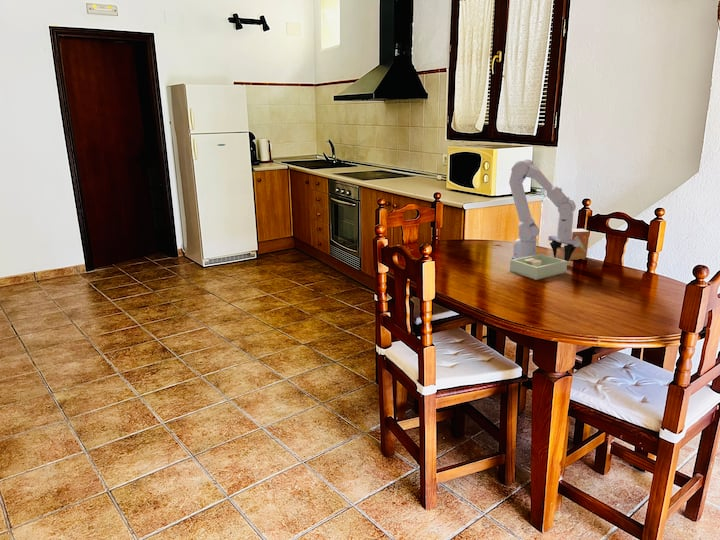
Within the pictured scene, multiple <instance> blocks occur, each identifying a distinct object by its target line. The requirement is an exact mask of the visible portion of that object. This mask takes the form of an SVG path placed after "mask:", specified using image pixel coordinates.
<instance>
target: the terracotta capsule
mask: <svg viewBox="0 0 720 540" xmlns="http://www.w3.org/2000/svg"><path fill="white" fill-rule="evenodd" d="M556 258H558V259H561V260H565V249H564V246H561V247H557V249H556ZM568 262H569V261H567V263H568Z"/></svg>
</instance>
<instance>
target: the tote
mask: <svg viewBox="0 0 720 540" xmlns="http://www.w3.org/2000/svg"><path fill="white" fill-rule="evenodd" d="M531 258H533V259H537V260H540V261H542V264H541V266H539V267H536V266H532V265H529V264H526V263H524V260H526V259H531ZM509 264H510V265H509V272H511V273H513V274H517V275H519V276H523V277H526V278H528V279H532V280H535V281H538V280H542V279H545V278H550V277H555V276H557V275H558V276H559V275H563V274H567V268H568V262H567V261H565V260H561V259H558V258H554V256H550V255H546V254H543V253H537V254H535V255H532V256H527V257H522V258H517V259H514V258H512V259H510V262H509Z"/></svg>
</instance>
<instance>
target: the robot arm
mask: <svg viewBox="0 0 720 540" xmlns="http://www.w3.org/2000/svg"><path fill="white" fill-rule="evenodd" d="M510 173H511V174H510V177H509V183H508V184H509V187H510V191H511V195H512V199H513V203H514V205H515V209H516V212H517V217H518V220H519V221H518V237H519V238H517V239H516V240H515V241H514V242H513V250H512V251H513V252H512V253H513V254H512V256H511V259H517V258H522V257H527V256H532V255H537V254H536V252H537V242H538V241H537V236H538V235H539V233H540V228H539V227H538V225H537V224H536V222H535V220H534V218H533V217H532V214H531V211H530V207H529V203H528V200H527V196H526V192H525V188H524V185H523V183H524V181H525V180H526V178H530V179H533V180H535V181H536V183H537V184H539V186H540V187H541V188H542V189H544V190H545V192H546V197H547V198H548V199H549V201H551V203H552V204H553V205H554V206H555V207H556V208H557V211H558V213H559V214H558V223H557V232H556V235H548V238H547V239H548V241H549V242H550V241H551V242H550V243H549V245H550V247H551V249H552V253H553V257H554V258H556V249H557V247H562V244H563V245H564V244H568V245H566V246H563V247H564V249H565V261H568V262H569V261H571V260H570V257H571V255H572V253H573V251H574V250H575V248H576V247H579V243H580V242H577V241H575V240H572V239H571V233H572V229H573V225H574V224H573V222H574V212H575V210H576V207H577V206H576V203H575V201H574V200H572V199H571V198H570V196H568V197H567V195H566V194H565V193H564V192H563V189H562V187H558V186H554V185H553V184H552V183H551V182H550V181H549V179H548V178H547V177H546V176H545V174H544V173H543V172H542V171H541V169H539V166H538V165H536V163H534V162H533V161H532V160H531V159H524V160H519V161H516V162H515V163H514V165H513V166H512V167H511V172H510Z"/></svg>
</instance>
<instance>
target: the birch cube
mask: <svg viewBox="0 0 720 540" xmlns="http://www.w3.org/2000/svg"><path fill="white" fill-rule="evenodd" d="M524 263H526V264H529V265H532V266H536V267H539V266H541V264H542V261H540V260H537V259H533V258H531V259H526V260H524Z"/></svg>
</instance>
